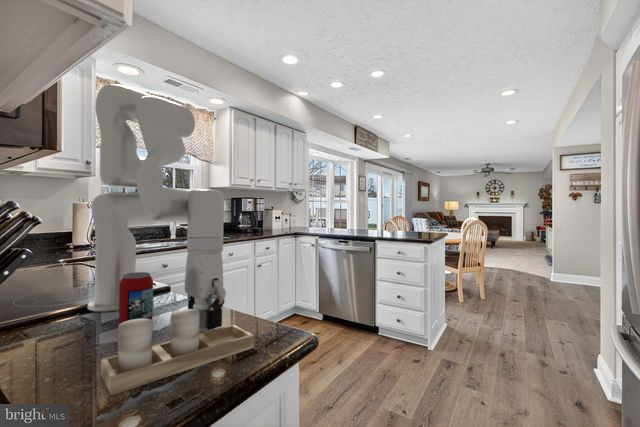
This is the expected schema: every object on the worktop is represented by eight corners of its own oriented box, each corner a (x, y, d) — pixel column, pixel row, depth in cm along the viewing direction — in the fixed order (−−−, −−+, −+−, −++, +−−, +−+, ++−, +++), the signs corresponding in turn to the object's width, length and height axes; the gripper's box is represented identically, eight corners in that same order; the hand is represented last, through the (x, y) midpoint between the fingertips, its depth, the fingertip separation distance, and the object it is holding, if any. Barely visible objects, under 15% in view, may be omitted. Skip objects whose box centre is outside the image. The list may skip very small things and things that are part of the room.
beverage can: (137, 332, 68) (138, 278, 68) (111, 329, 70) (112, 276, 70) (158, 322, 75) (159, 272, 75) (134, 319, 76) (135, 270, 76)
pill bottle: (219, 330, 71) (220, 293, 71) (203, 338, 66) (204, 298, 66) (203, 327, 73) (204, 291, 72) (187, 334, 68) (188, 296, 68)
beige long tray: (100, 374, 51) (101, 322, 51) (233, 335, 68) (234, 296, 68) (111, 395, 45) (112, 337, 45) (253, 347, 62) (254, 305, 62)
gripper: (173, 242, 73) (172, 315, 73) (205, 250, 60) (204, 338, 61) (205, 241, 78) (203, 309, 78) (240, 247, 66) (239, 328, 66)
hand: (204, 321), depth 69 cm, fingers open, 9 cm apart
